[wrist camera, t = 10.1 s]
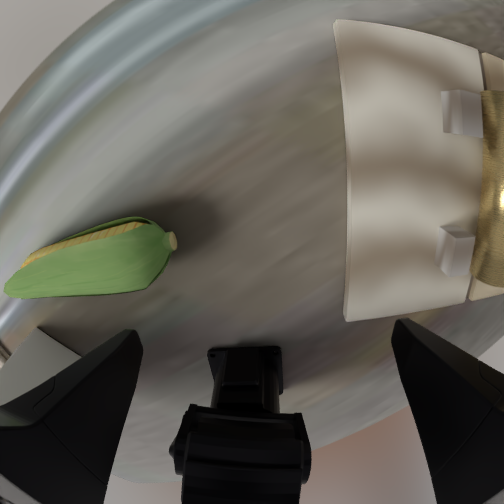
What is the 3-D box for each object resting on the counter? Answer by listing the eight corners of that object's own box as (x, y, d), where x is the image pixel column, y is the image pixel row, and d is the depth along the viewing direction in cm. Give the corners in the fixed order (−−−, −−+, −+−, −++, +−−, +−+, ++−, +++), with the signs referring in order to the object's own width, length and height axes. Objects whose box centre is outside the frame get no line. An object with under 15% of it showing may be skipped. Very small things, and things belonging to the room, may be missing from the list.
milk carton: (37, 359, 28) (-29, 463, 11) (36, 325, 26) (-51, 442, 8) (80, 387, 29) (24, 503, 12) (84, 357, 27) (10, 493, 9)
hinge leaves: (531, 279, 21) (548, 294, 18) (342, 313, 23) (353, 341, 20) (546, 86, 12) (569, 88, 9) (332, 24, 14) (346, 5, 11)
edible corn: (180, 297, 18) (150, 242, 15) (11, 314, 21) (-16, 281, 18) (192, 246, 22) (171, 195, 19) (31, 278, 25) (8, 246, 22)
